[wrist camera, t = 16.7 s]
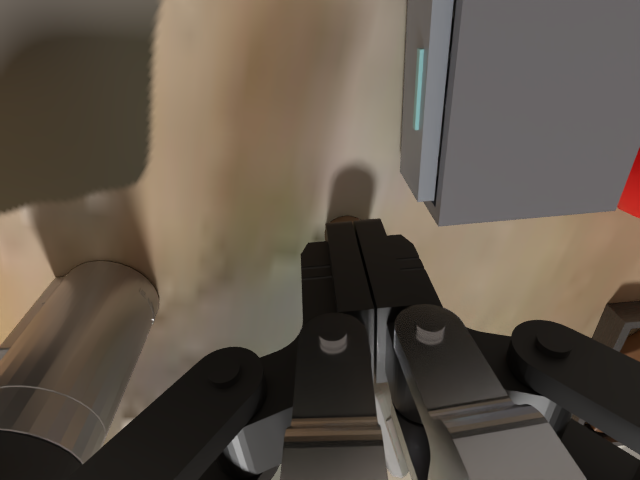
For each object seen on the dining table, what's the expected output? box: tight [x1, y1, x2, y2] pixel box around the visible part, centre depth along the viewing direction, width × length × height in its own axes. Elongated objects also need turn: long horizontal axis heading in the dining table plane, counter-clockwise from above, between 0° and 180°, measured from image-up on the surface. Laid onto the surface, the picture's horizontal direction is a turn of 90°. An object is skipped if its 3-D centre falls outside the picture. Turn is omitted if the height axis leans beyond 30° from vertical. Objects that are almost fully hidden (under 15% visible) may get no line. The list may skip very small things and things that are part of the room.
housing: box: [423, 0, 640, 226], centre depth 27 cm, size 13×18×8 cm
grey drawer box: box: [400, 0, 456, 202], centre depth 27 cm, size 13×15×6 cm
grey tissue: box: [373, 374, 409, 478], centre depth 44 cm, size 16×9×11 cm, turn 4°
